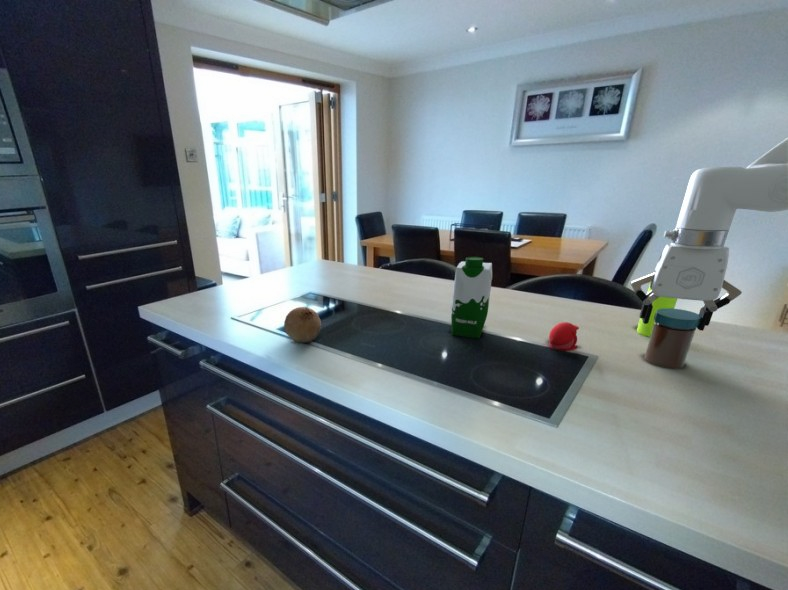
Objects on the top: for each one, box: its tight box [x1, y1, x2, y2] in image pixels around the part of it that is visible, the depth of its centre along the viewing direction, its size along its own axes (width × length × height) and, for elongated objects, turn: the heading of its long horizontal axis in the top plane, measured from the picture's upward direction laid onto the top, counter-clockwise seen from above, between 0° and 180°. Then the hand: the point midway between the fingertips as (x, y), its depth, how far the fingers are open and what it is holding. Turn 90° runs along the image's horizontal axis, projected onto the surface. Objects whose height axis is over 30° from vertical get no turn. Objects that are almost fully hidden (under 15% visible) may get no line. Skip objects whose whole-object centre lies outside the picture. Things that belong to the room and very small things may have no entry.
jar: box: [643, 322, 697, 369], centre depth 81 cm, size 7×7×11 cm
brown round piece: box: [283, 306, 322, 344], centre depth 100 cm, size 10×9×10 cm
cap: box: [548, 321, 580, 352], centre depth 91 cm, size 8×6×6 cm
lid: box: [654, 308, 701, 329], centre depth 79 cm, size 7×7×2 cm
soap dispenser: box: [636, 282, 678, 338], centre depth 95 cm, size 6×7×20 cm
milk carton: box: [450, 256, 493, 339], centre depth 99 cm, size 9×9×20 cm
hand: (671, 324), depth 80 cm, fingers open, 8 cm apart
